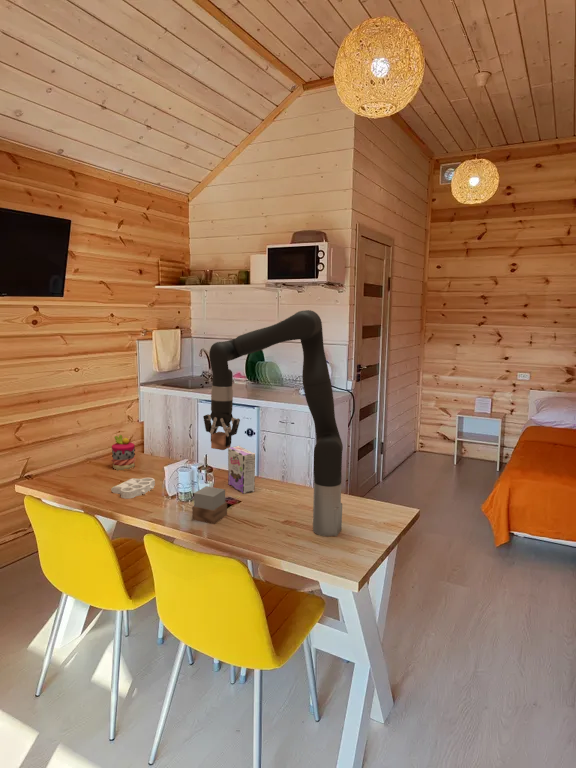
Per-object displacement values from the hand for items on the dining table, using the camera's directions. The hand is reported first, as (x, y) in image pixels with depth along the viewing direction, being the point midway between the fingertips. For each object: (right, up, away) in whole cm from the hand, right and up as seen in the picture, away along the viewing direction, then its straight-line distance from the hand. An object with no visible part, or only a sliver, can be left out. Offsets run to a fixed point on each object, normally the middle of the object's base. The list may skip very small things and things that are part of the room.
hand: (220, 444), depth 183 cm
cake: (-53, -18, +58) cm, 81 cm away
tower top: (-4, -22, +1) cm, 22 cm away
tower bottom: (-4, -27, +2) cm, 27 cm away
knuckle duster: (-39, -23, +28) cm, 53 cm away
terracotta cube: (0, -1, 0) cm, 1 cm away
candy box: (+4, -22, +33) cm, 40 cm away
